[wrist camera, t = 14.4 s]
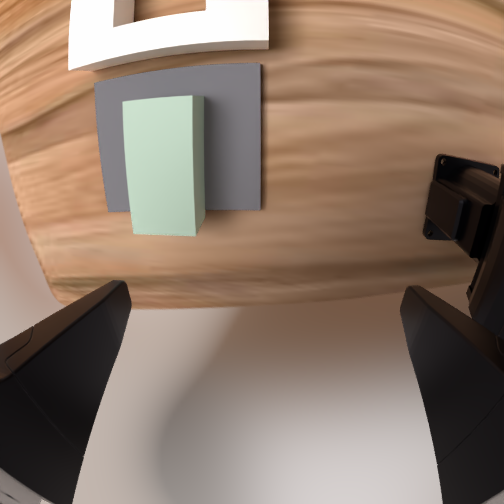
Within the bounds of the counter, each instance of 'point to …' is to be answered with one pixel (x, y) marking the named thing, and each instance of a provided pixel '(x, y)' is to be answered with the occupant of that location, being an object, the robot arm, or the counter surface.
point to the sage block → (165, 164)
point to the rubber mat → (215, 129)
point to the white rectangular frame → (161, 31)
